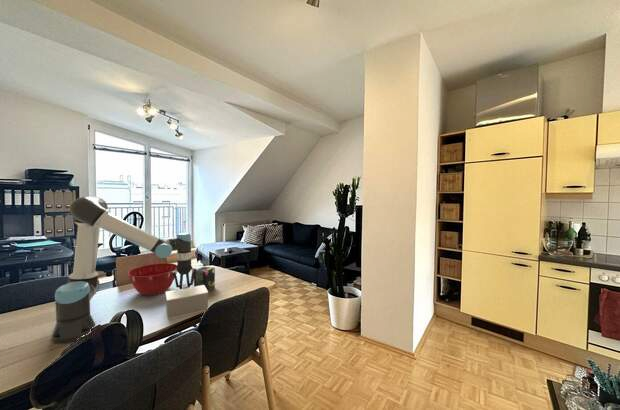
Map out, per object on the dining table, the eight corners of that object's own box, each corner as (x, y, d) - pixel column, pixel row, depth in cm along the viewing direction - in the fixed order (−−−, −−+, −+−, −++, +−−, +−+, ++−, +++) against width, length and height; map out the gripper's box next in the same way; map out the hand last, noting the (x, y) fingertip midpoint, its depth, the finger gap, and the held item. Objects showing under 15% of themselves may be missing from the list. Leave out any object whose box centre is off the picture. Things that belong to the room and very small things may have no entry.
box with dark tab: (167, 310, 133) (166, 299, 133) (164, 297, 149) (164, 287, 148) (208, 301, 144) (208, 291, 144) (202, 290, 160) (202, 280, 160)
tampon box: (206, 294, 166) (205, 272, 166) (193, 292, 168) (193, 271, 167) (215, 287, 177) (215, 267, 176) (203, 286, 179) (203, 266, 178)
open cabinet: (167, 319, 134) (167, 301, 133) (166, 310, 144) (166, 292, 143) (207, 310, 145) (207, 293, 144) (203, 302, 155) (203, 286, 154)
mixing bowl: (116, 297, 158) (116, 273, 157) (154, 281, 186) (154, 261, 185) (154, 303, 152) (153, 278, 151) (187, 286, 179) (187, 264, 178)
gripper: (170, 262, 144) (171, 302, 146) (198, 258, 152) (198, 297, 154) (169, 259, 150) (170, 297, 152) (196, 256, 158) (196, 292, 160)
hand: (184, 297), depth 153 cm, fingers closed on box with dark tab, 2 cm apart
